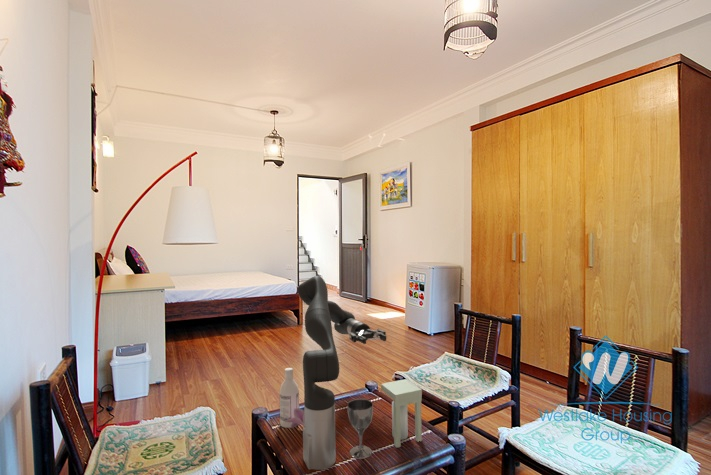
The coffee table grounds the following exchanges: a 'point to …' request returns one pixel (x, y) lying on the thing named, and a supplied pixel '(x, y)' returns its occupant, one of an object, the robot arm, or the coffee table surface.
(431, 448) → the coffee table surface
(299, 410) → the lily
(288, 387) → the bath foam
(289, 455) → the coffee table surface
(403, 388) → the small green stool
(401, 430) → the white plastic cylinder
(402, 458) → the coffee table surface
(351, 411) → the wine glass
